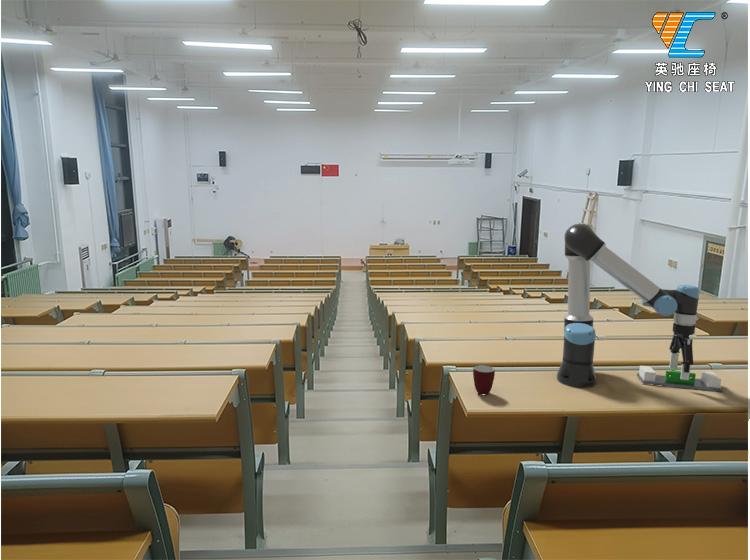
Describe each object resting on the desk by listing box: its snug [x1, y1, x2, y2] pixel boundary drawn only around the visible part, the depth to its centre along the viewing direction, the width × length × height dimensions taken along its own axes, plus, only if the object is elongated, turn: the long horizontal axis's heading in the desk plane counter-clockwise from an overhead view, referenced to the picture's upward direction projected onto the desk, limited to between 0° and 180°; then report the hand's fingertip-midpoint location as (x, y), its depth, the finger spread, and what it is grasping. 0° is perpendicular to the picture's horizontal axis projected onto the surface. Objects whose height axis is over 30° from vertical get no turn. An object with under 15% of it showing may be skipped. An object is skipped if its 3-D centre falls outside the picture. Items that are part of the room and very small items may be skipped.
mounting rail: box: [636, 365, 723, 393], centre depth 193 cm, size 28×10×5 cm, turn 74°
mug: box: [472, 364, 496, 395], centre depth 183 cm, size 11×8×10 cm
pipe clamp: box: [664, 368, 697, 384], centre depth 193 cm, size 10×4×4 cm, turn 75°
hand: (678, 373), depth 193 cm, fingers open, 13 cm apart
